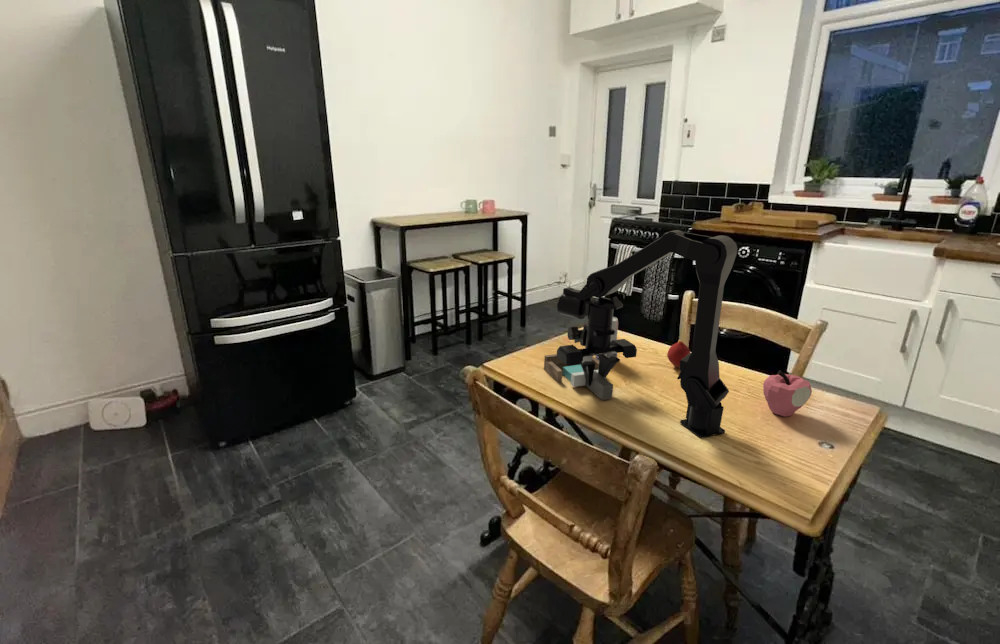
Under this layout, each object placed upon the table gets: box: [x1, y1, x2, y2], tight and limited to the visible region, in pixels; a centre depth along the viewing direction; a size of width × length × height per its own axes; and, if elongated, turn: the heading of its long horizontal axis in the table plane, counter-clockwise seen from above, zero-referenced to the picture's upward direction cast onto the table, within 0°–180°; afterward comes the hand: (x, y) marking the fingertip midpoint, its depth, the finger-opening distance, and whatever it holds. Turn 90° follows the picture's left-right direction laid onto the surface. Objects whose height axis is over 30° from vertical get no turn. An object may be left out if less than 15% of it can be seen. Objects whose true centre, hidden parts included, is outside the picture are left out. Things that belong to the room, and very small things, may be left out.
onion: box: [666, 339, 691, 369], centre depth 129 cm, size 6×6×8 cm
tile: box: [562, 365, 583, 383], centre depth 123 cm, size 7×7×2 cm
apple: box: [762, 370, 813, 417], centre depth 106 cm, size 10×9×10 cm
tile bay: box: [543, 353, 599, 383], centre depth 125 cm, size 8×13×4 cm, turn 109°
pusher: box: [570, 370, 614, 401], centre depth 115 cm, size 10×9×4 cm
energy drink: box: [594, 316, 619, 360], centre depth 133 cm, size 5×5×12 cm
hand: (594, 384), depth 116 cm, fingers closed on pusher, 3 cm apart
